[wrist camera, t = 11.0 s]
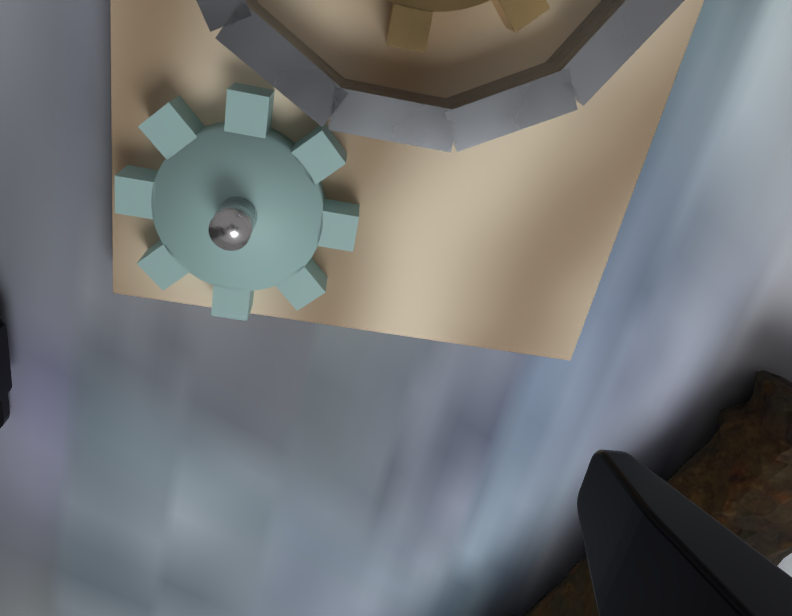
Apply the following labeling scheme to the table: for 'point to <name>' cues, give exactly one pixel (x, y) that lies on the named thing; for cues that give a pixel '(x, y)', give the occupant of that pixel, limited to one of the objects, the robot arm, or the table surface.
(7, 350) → the robot arm
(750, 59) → the table surface
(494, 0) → the bronze gear
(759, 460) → the hand tool
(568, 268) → the gear board
